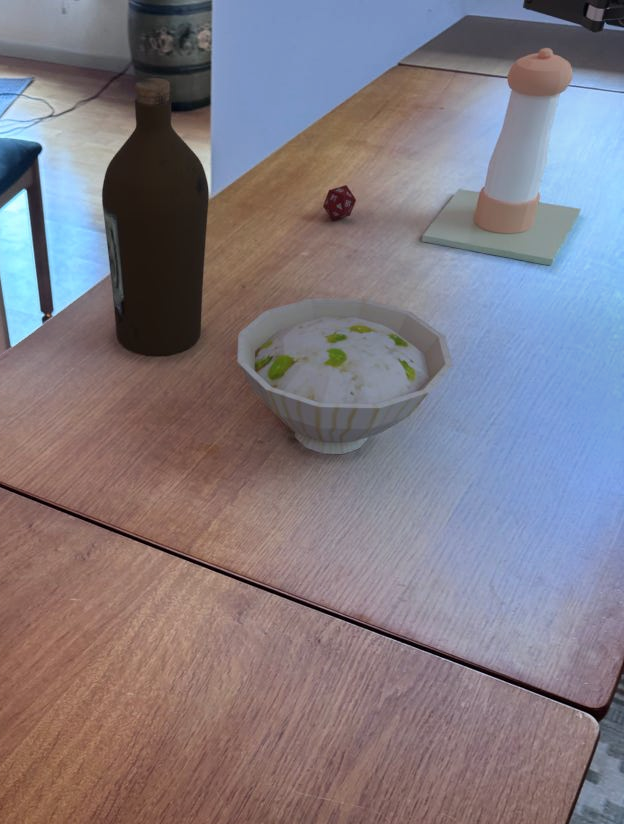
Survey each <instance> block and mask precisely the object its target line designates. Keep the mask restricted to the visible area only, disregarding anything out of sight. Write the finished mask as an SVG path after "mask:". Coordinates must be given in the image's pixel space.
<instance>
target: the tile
mask: <svg viewBox="0 0 624 824" xmlns="http://www.w3.org/2000/svg"><path fill="white" fill-rule="evenodd" d="M479 193H480V191H474V190H468V189H462V188H459V189H458V190H457V191H456V192H455V194H454V195H452V197H451V198H450V200H449V201H448V202H447V203H446V205H445V206H444V207H443V208H442V210H441V211H440V212H439V214H438V215H437V217H436V218H435V219H434V220H433V221H432V223H431V224H430V225H429V227H427V229H426V231H425V232H423V234H422V238H421V242H422V243H423V242H424V243H430V244H434V245H439V246H445V247H450V248H455V249H461V250H464V251H465V250H466V251H471V252H477V253H482V254H487V255H493V256H498V257H503V258H508V259H514V260H517V261H519V260H520V261H524V262H529V263H536V264H540V265H545V266H550V267H551V266H553V263H554V262H555V260H556V259H557V256H558V255H559V253H560V251H561V249H562V247H563V245H564V244H565V242H566V240H567V238H568V237H569V235H570V233H571V231H572V230H573V227H574V225H575V224H576V223H577V220H578V218H579V217H580V214H581V211H582V208H577V207H573V206H572V207H571V206H565V205H560V204H554V203H553V204H552V203H547V202H542V201H539V204H538V207H537V211H536V214H535V218H534V222H533V225H532V227H531V228H530V229H528V230H526V231H523V232H519V233H497V232H492V231H488V230H485V229H483V228H481V227H479V226H478V225H477V224H476V223H475V222H474V215H475V211H476V207H477V202H478V198H479Z"/></svg>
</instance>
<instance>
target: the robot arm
mask: <svg viewBox="0 0 624 824" xmlns="http://www.w3.org/2000/svg"><path fill="white" fill-rule="evenodd" d="M522 8H523V9H525V10H527V11H532V12H535V13H539V14H541V15H542V14H543V15H546V16H549V17H552V18H555V19H559V20H562V21H565V22H569V23H572V24H575V25H579V26H581V27H582V28H585V29H586V30H588V31H590V32H592V33H600V32H602V31H603V30H604V27H605V24H606V25H608V26H612V27H617V28H623V29H624V0H523V4H522Z"/></svg>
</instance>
